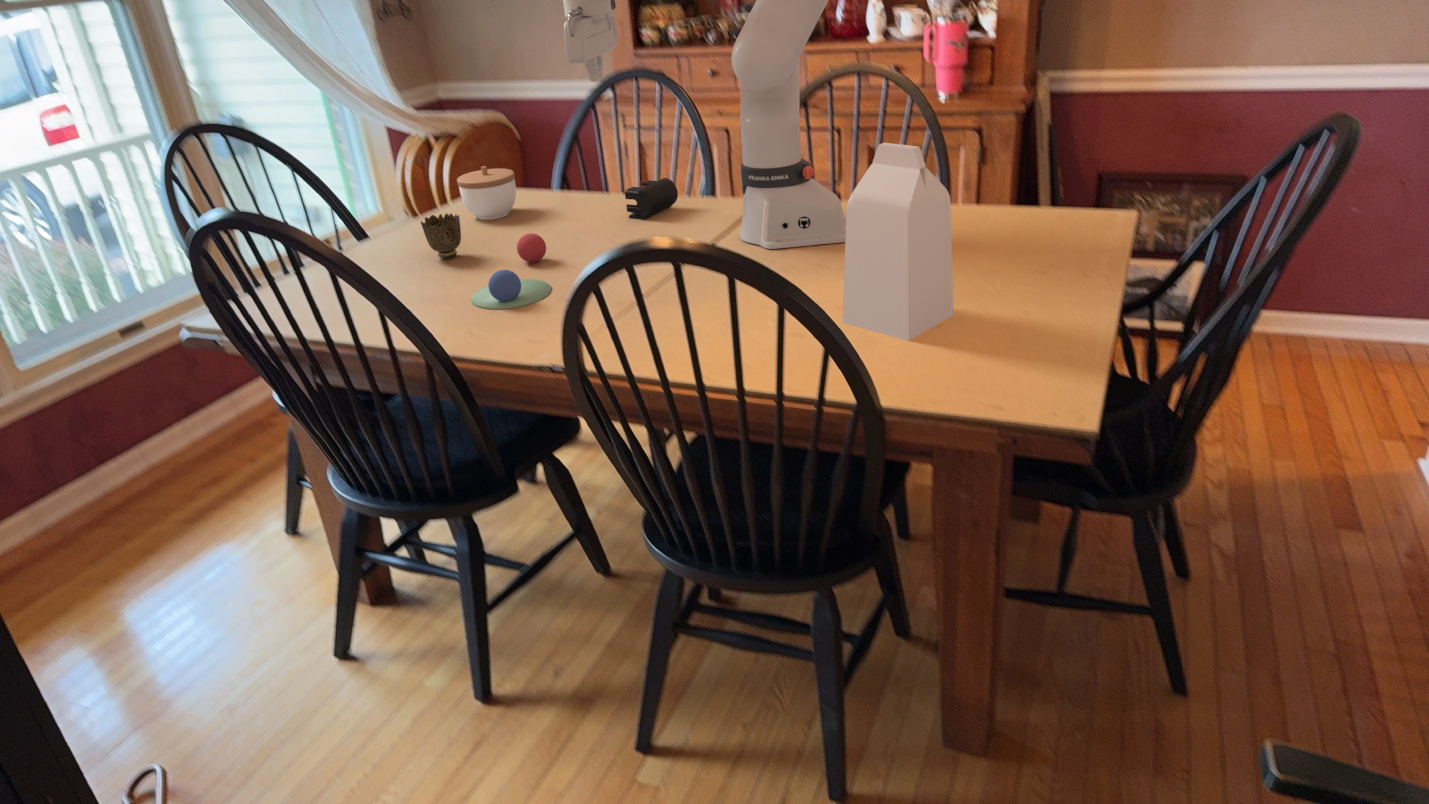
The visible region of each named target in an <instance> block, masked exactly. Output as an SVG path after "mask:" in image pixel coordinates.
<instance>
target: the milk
mask: <svg viewBox="0 0 1429 804" xmlns="http://www.w3.org/2000/svg"><path fill="white" fill-rule="evenodd" d="M873 157H874V158H873V160H872V163H871V164H870V165H869V167H868V168H867V170H866V172H865V173H864V175H863V176H862V178H861V179H860V181H859V182H858V184H857V185H856V186H855V187H854V190H853V191H852V193H851V194H850V196H849V199H848V200H847V204H846V216H845V217H846V239H845V242H844V248H845V249H844V266H843V268H844V271H843V272H844V273H843V295H842V323H843V324H846V325H851V326H853V327H856V328H860V329H863V330H867V331H871V332H875V333H878V334H882V335H885V336H889V337H891V338H892V337H893V338H896V339H900V340H903V341H907V342H909V341H911V340H913V339H915V338H917V337H918V336H920V335H923V333H925V332H926V331H928V330H931V329H932V328H934V327H935V326H937V325H939V324H941V323H942V322H944V321H946V320H948V319H950V318H951V317H953V316H954V297H953V295H954V293H953V291H954V289H953V286H954V285H953V284H954V283H953V252H952V251H953V248H952V247H953V245H952V241H953V240H952V213H951V211H952V209H951V207H952V205H951V195H950V193H949V191H948V190H947V187H945V186H944V184H942V182H941V181H940V180H939V179H938V178H937V177H936V176H935V175H934V173H932V172H931V170H929V168H927V167H926V163H925V159H924V157H923V153H922V150H921V148H920V146H917V145H915V146H914V145H909V144H902V143H901V144H900V143H892V142H891V143H890V142H883V143H880V144H878V146H877V149H876V151H875V154H874V156H873Z"/></svg>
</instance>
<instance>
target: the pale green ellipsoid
mask: <svg viewBox="0 0 1429 804" xmlns="http://www.w3.org/2000/svg"><path fill="white" fill-rule="evenodd" d="M519 279H520V278H519ZM520 282H521V291H520V293H519V295H518V296H517V297H516V298H515V299H514V300H512V301H509V302H502V301H499V300H497V299H495V298H494V297H493V296H492V295H491V293H490V291H489V286H488V285H487V286H485V287H483V288H481V289H479V290H477V291H475V293H473V294H472V296H471V299H470V300H471V304H472V305H473V306H475V307H477V308H480V309H485V310H486V309H487V310H506V309H507V310H508V309H514V308H519V307H524V306H528V305H531V304H534V303H536V302H539V301H541V300H543V299H544V298H546V297H547V296H549V295H550V294H551V292H552V286H551V285H550V284H549V283H548V282H547V281H544V280H539V279H529V278H525V279H523V278H522V279H520Z"/></svg>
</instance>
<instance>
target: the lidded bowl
mask: <svg viewBox="0 0 1429 804" xmlns="http://www.w3.org/2000/svg"><path fill="white" fill-rule="evenodd" d="M480 168H481V169H479V170H475V171H471V172H467V173H464V174H462V175H460V176H458V177H457V179H456V183H457V186H458V189H459V194H460V198H461V199H462V202H463V204H464V206H465V208H466V209H467V210H468V212H470V213H471V214H472V215H474V216H475V217H476V218H477V220H482V221H491V220H498V219H501V218H504V217H507V216H508V215H509V214H510V212H511V209H513V208H514V207H513V206H514V205H515V202H516V198H517V188H516V187H517V185H516V181H515V172H514V171H513V170H512V169H509V168H499V167H498V168H497V167H495V168H488V167H487V165H485V166H484V165H483V166H481V167H480Z"/></svg>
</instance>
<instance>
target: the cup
mask: <svg viewBox="0 0 1429 804" xmlns="http://www.w3.org/2000/svg"><path fill="white" fill-rule="evenodd" d="M460 220H461V219H460V214H458V215H457V213H455V214H454V215H453V214H452V213H445V214H444V216H443V215H442V213H440V214H439V215H438V216H436V215H434V214H431V215H430V216H429V217H428V216H426V217H424V222H423V221H422V220H420V224H421V227H422V229H423V234H424V236H425V238H426V239H425V240H427V243H428V245H429V246H430V248H431V249H432V250H433V251H435V252H438V253H437V255H438V258H439V259H441V260H450V259H453V258H456V256H457V253H458V250H457V248H458V247H459V246H460V244H461V241H462V234H461V233H462V232H461V231H462V230H461V221H460Z"/></svg>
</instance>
